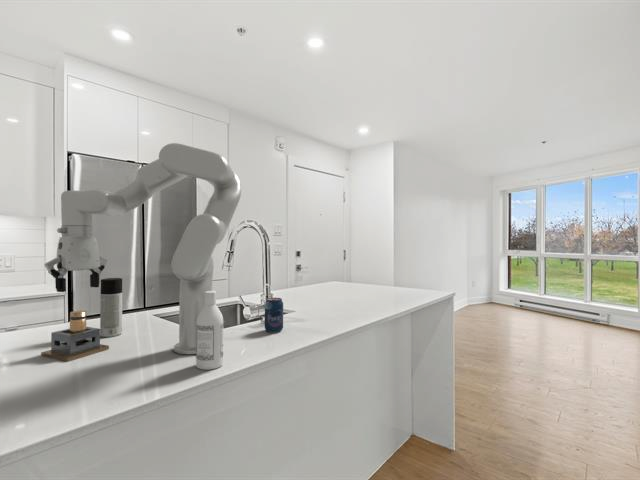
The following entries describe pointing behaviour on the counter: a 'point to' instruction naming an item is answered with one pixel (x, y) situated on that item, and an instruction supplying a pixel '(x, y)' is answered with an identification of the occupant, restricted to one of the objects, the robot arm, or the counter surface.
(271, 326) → the soda can
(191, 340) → the robot arm
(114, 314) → the spray can
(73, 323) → the copper tube
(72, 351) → the collar stand
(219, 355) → the bath foam
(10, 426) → the counter surface
